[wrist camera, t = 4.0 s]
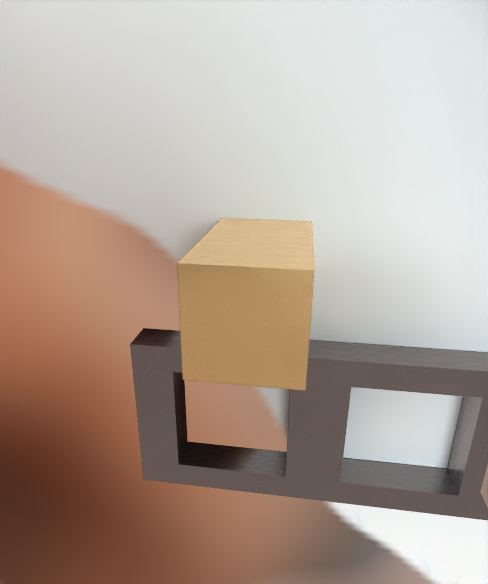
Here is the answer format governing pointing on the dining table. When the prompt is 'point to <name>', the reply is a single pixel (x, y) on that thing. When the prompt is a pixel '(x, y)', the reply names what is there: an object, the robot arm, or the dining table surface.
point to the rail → (322, 429)
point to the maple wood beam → (248, 303)
